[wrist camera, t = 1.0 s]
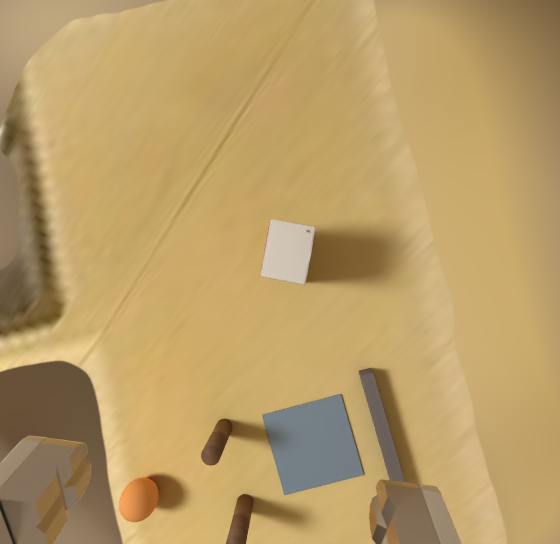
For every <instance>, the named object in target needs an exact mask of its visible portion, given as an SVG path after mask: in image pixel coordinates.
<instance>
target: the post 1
mask: <svg viewBox="0 0 560 544" xmlns="http://www.w3.org/2000/svg"><path fill="white" fill-rule="evenodd" d="M231 431H232V423H231V422H230V421H229V420H228V419H221V420H219V421H218V423H217V425H216V426H215V428H214V430H213V432H212V434H211V436H210V438H209V440H208V441H207V443H206V445H205V447H204V449H203V451H202V453H201V458H202V460H203V462H204V463H205V464H207V465H215V464H217V463H218V461H219V460H220V457H221V455H222V452H223V450H224V448H225V445H226V443H227V440H228V438H229V436H230V433H231Z"/></svg>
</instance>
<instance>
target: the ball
mask: <svg viewBox="0 0 560 544" xmlns="http://www.w3.org/2000/svg"><path fill="white" fill-rule="evenodd" d="M158 497H159V493H158V488H157V486H156V484H155V483H154V482H153V481H152V480H151V479H148V478H138V479H136V480H134V481H132V482H131V483H129V484H128V485H127V486H126V488H125V489H124V490H123V492H122V494H121V497H120V501H119V509H120V513H121V515H122V516H123V518H124V519H126V520H127V521H130V522H139V521H142V520H144V519H145V518H147V517H148V516H149V515H150V514H151V513H152V512H153V511H154V509H155V507H156V505H157V502H158Z"/></svg>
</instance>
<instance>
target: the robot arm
mask: <svg viewBox="0 0 560 544" xmlns="http://www.w3.org/2000/svg"><path fill="white" fill-rule="evenodd" d="M87 453H88V448H87V445H86V443H81V442H74V441H66V440H59V439H51V438H47V437H39V436H30V435H29V436H27V437H26V438H24V439H23V440H21V441H20V442H19V443H18V445H17V446H15V448H14V449H13V450H12V451H11V452H10V453H9V454H8V455H7V456H6V457H5V458H4V459H3V461H2V462H1V463H0V544H53V543H54V541H55V540H56V538H57V536H58V535H59V533H60V532H61V530H62V528H63V527H64V525H65V523H66V522H67V519H68V515H67V510H68V509H69V508H71V507H72V506H73V505H75V504H76V503H77V502H78V501H79V500H80V499H81V497H82V495H83V494H84V492H85V490H86V488H87V485H88V482H89V479H90V475H91V464H90V462H89V461H88V460H87V459H86V458H85V456H86V454H87ZM376 491H377V495H376V496H375V497H373V498H372V501H371V504H370V513H369V520H370V529H371V535H372V539H373V541H374V542H375V543H376V544H461V541H460V539H459V536H458V534H457V532H456V529H455V527H454V524H453V522H452V519H451V517H450V515H449V512H448V510H447V507H446V505H445V502H444V500H443V497H442V495H441V493H440V491H439V489H438V488H437V487H435V486H431V485H421V484H416V483H409V482H399V481H390V480H379V481H378V483H377V486H376Z"/></svg>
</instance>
